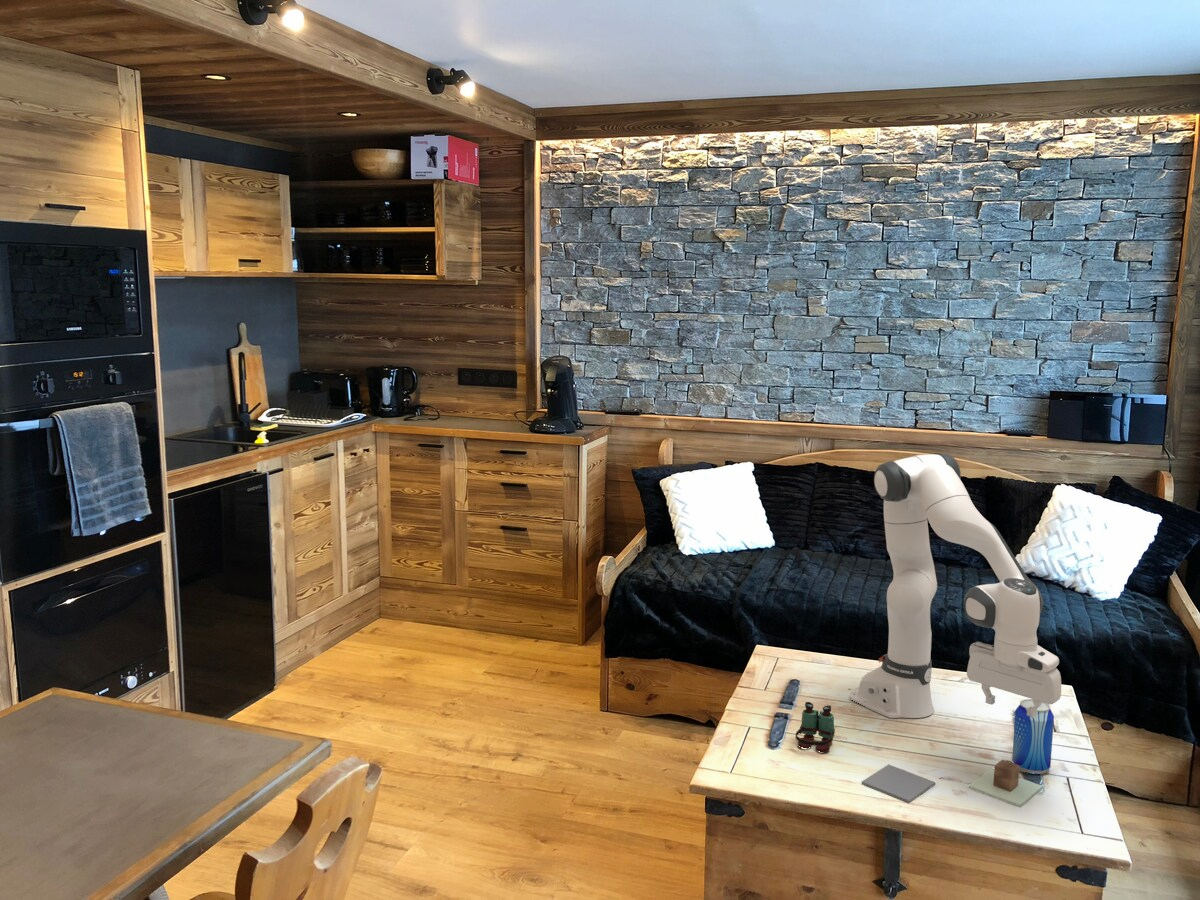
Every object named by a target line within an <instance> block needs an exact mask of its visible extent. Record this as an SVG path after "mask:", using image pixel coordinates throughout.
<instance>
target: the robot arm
mask: <svg viewBox="0 0 1200 900" xmlns="http://www.w3.org/2000/svg"><path fill="white" fill-rule="evenodd" d="M873 475H874V476H873V484H874V489H875V491H876V494H877V495H878V496H879V497H880V499H882V500H883V522H884V533H885V542H886V550H887V553H888V555H889V557H890V562H891V566H892V570H893V571H892V572H893V577H892V581H891V582H890V584H889V586H888V587H887V589H886V590H887V592H886V604H887V605H886V607H887V611H886V612H887V621H888V642H887V643H888V645H887V646H888V647H887V653H886V654H883V655H882V656H881V657H880V658H879V657H878V660H879V661H878V663H881V662H882V663H881V666H879V667H876V668H875V669H873V670H872V671H870V672H867V673H866V674H865V675H863V677H862V678H861V680H860V682H859V685H858V687H857V688H855V689H853V691H851V693H850V695H849V700H850V699H851V700H853V701H852V702H854V701H855V702H854V703H856V702H857V703H856V704H858V703H859V704H858V705H860V704H861V705H860V706H862V705H863V707H864V706H865V707H864V708H866V709H869V710H872V711H873V712H876V713H878V714H880V715H882V716H884V717H886V718H888V719H889V718H890V719H898V718H906V719H923V718H926V717H930V716H931V715H933V714H934V713H935V709H934V705H933V699H932V693H931V691H932V690H931V679H932V667H933V666H932V664H933V662H932V658H931V651H932V636H933V634H932V628H931V627H932V626H931V605H932V600H933V598H934V597H935V595H936V593H937V590H938V581H937V575H936V569H935V563H934V559H933V555H932V550H931V546H930V545H931V543H930V535H929V526H930V527H931V528H932V530H933V531H934V533H935V534H936V535H937V536H938V537H940V539H943V540H945V541H946V542H950V543H954V544H958V545H961V546H965V547H967V548H970V549H973V550H974V551H977V552H979V553H980V554H981V555H982V556H983V557H984V558H985V559H986V560H987V562H988V564H989V565H990V567H991V569H992V570H993V572H994V574H995V576H996V577H997V579H998V581H999V582H997V583H985V584H980V585H976V586H971V588H969V589H968V590H967V592H966V593H965V595H964V600H963V607H964V609H963V610H964V612H965V615H966V617H967V619H969V621H970V622H971V623H973V625H975V626H979V627H982V628H986V629H987V628H988V629H990V628H991V629H993V630H994V632H995V635H994V641H993V642H994V643H993V644H992V645H991V644H990V643H989V644H988V643H983V642H981V641H976V642H973V643H971V644H970V646H969V651H968V652H969V653H968V655H969V660H968V662H967V663H968V664H967V670H966V677H967V678H968V679H969V681H971V682H975V683H978V684H981V690H982V692H983V694H984V696H985V704H988V705H994V704H996V703H995V702H996V695H995V694H993V693H992V691H991V687H992V688H995V689H997V690H1001V691H1005V692H1008V693H1012V694H1014V695H1017V696H1021V697H1024V698H1027V699H1033V704H1035V705H1034V706H1033V707H1029V708H1028V709H1027V716H1029V717H1032V718H1034V717H1036V713H1037V709H1038V707H1039V706H1040V705H1041V704H1042V703H1043V702H1044V703H1047V704H1049V705H1054V704H1055V703H1056V702H1058V701H1059V700H1060V699H1061V696H1062V676H1061V672H1060V671H1059V669H1058V668H1057V666H1058V665H1059V664H1060V659H1059V657H1058V656H1057V655H1055V654H1054V653H1052V652H1050V651H1048V650H1047V649H1045V648H1043V647H1042V646H1040V645H1038V636H1037V630H1038V627H1039V625H1040V615H1041V613H1042V610H1043V606H1044V600H1043V596H1042V594H1041V591H1040V590H1039V588H1038V587H1037V586H1036V585H1035V583H1034V582H1033V581H1032V580H1031V579H1030V578H1029V577H1028V575H1027V574H1026V572H1025V571H1024V570H1023V568H1022V566H1021V565H1020V563H1019V562H1018V560H1017V558H1016V557H1015V555H1014V554H1013V552H1012V550H1011V549H1010V547H1009V545H1008V544H1007V542H1006V541H1005V539H1004V538H1003V536H1002V534H1001V533H1000V531H999V530H998V529H997V527H996V526H995V525H994V524H993V523H991V522H990V521H989V520H987V519H986V518H985V517H984V516H983V515H982V514H981V513H980V511H979V510H978V509H977V508H976V507H975V505H974V503H973V502H972V501H973V500H971V497H970V494H969V492H968V491H967V489H966V487H965V485H964V483H963V482H962V480H961V477H962V475H961V467H960V465H959V463H958V461H957V460H956V458H955V457H954V456H953V455H951V454H949V453H943V452H942V453H941V452H936V453H933V454H930V453H929V454H918V455H913V456H909V457H904V458H900V459H896V460H894V461H893V460H888V461H886V462H884V463H881V464H879V465H878V466H877V467H876V469H875V471H874V474H873ZM928 523H929V524H930V525H928ZM851 700H850V701H851Z"/></svg>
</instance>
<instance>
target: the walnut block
mask: <svg viewBox="0 0 1200 900" xmlns="http://www.w3.org/2000/svg"><path fill="white" fill-rule="evenodd" d="M1019 767H1020V765H1017V764H1014V763H1013V762H1010V761H1007V760H1006V759H1001V760H1000V761H998V762H997V763H996V764H994V768H993V769H994V783H993V786H996V787H998V788H1001V789H1004V790H1007V791H1009V792H1011V791H1012V790H1014V789H1015V788H1016V787H1017V786H1018V781H1019V778H1020V770H1019Z"/></svg>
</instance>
